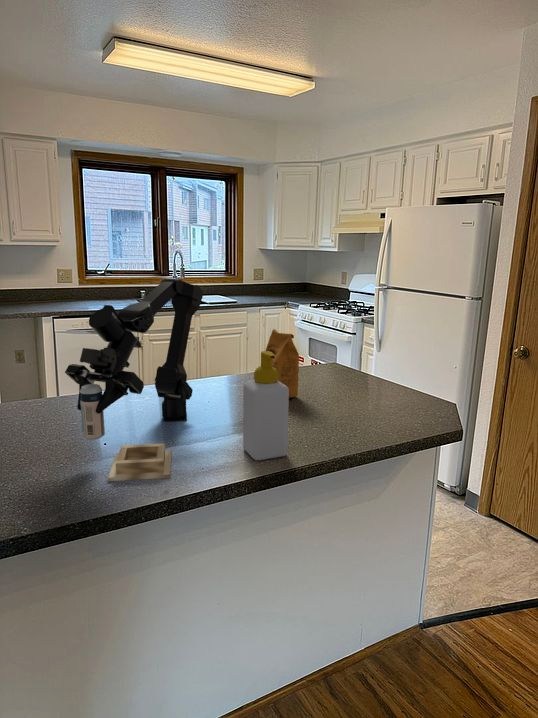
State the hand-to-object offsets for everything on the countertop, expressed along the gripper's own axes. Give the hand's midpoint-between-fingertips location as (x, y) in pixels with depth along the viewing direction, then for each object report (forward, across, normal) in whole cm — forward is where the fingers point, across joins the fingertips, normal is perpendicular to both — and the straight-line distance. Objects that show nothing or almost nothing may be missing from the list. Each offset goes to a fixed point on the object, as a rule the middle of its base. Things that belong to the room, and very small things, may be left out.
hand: (87, 411), depth 112 cm
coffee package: (-38, +19, +58) cm, 72 cm away
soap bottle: (-7, +34, +25) cm, 43 cm away
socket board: (+6, +11, +12) cm, 17 cm away
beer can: (+4, 0, +6) cm, 7 cm away
